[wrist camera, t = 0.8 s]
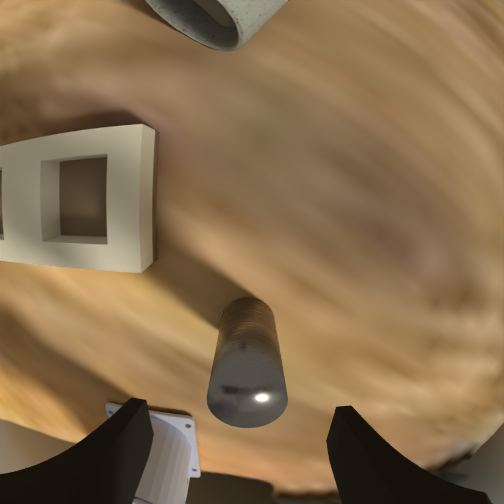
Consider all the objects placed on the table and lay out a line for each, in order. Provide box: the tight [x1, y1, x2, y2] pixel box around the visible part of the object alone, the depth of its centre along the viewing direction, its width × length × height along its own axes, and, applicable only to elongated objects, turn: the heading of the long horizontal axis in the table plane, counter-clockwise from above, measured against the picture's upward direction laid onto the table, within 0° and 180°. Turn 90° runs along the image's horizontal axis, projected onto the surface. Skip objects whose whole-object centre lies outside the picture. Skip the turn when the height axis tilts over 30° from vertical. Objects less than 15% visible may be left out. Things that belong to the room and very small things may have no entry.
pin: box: [207, 298, 288, 428], centre depth 16 cm, size 4×4×8 cm
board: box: [0, 124, 159, 273], centre depth 16 cm, size 8×18×3 cm, turn 87°
